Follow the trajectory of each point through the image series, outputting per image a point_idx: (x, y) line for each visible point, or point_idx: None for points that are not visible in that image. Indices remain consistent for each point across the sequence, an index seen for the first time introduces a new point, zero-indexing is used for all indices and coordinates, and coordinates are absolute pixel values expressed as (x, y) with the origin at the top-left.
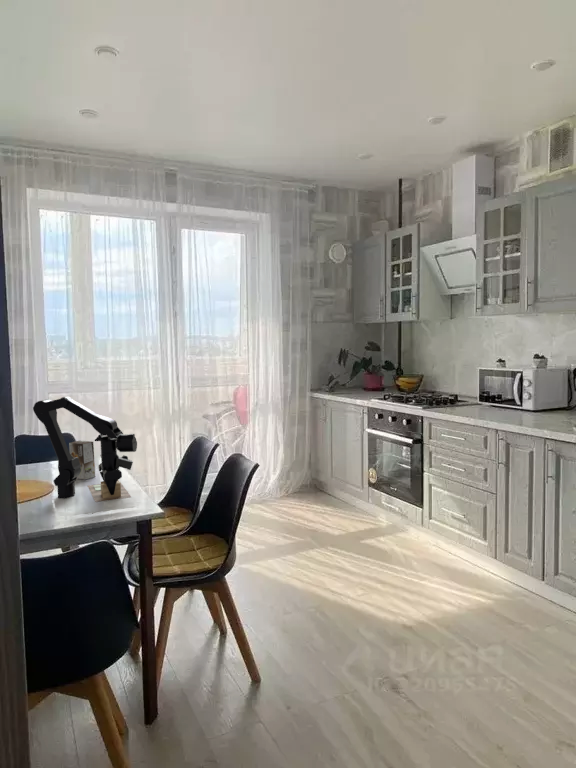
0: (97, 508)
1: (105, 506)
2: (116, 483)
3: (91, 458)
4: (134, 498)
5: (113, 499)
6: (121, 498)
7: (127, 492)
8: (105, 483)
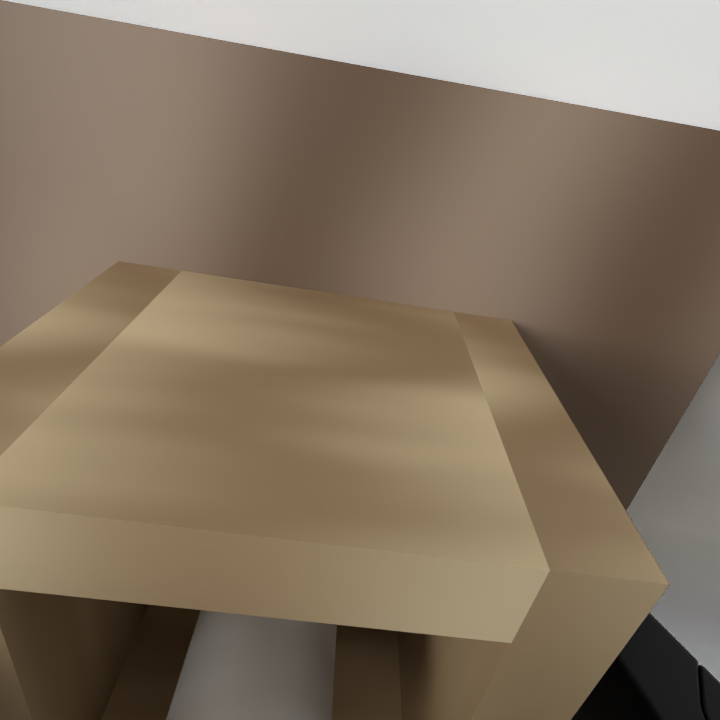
0: (678, 633)
1: (686, 564)
2: (588, 679)
3: None
4: (690, 13)
5: (637, 490)
6: (707, 372)
7: (287, 71)
8: (87, 717)
